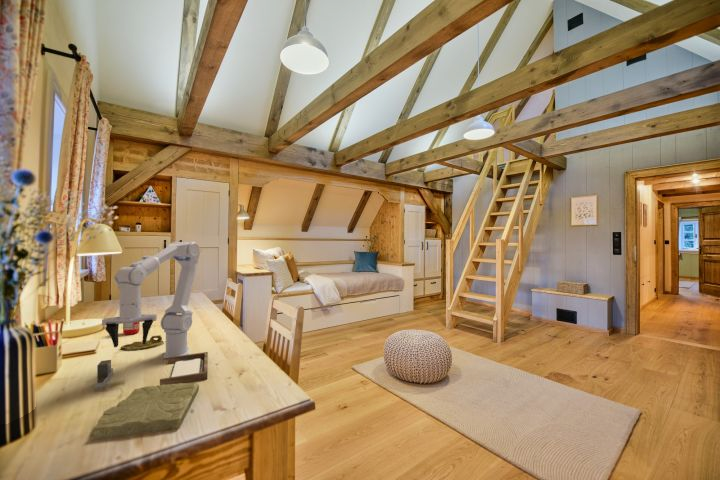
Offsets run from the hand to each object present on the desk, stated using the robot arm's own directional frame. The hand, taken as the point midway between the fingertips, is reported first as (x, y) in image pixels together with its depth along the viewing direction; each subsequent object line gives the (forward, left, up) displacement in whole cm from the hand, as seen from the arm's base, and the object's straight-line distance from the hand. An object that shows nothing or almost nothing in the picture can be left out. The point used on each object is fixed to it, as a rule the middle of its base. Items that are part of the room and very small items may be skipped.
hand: (130, 344), depth 104 cm
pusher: (+3, -6, -10) cm, 12 cm away
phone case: (+4, +16, -11) cm, 20 cm away
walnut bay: (+3, +16, -10) cm, 19 cm away
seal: (-32, -2, -11) cm, 34 cm away
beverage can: (-57, -10, -10) cm, 59 cm away
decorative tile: (+29, +10, -11) cm, 33 cm away
